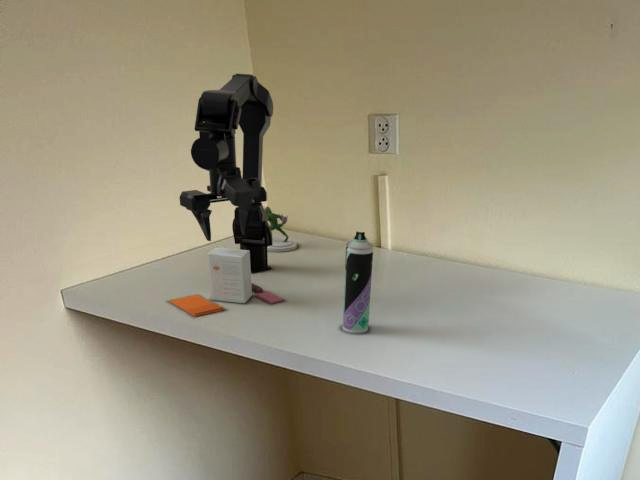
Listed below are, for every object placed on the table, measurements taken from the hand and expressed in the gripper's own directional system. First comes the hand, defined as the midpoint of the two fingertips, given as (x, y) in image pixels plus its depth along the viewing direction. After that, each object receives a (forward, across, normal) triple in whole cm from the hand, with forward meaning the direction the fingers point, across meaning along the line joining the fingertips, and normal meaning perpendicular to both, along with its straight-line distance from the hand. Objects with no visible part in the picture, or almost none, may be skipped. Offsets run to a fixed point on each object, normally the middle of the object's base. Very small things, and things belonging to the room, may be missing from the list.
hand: (226, 237), depth 150 cm
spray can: (+13, +10, -33) cm, 37 cm away
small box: (+13, -1, -3) cm, 13 cm away
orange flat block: (+13, -11, -3) cm, 17 cm away
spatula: (+13, +6, -3) cm, 14 cm away
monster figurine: (+13, +33, +27) cm, 45 cm away
